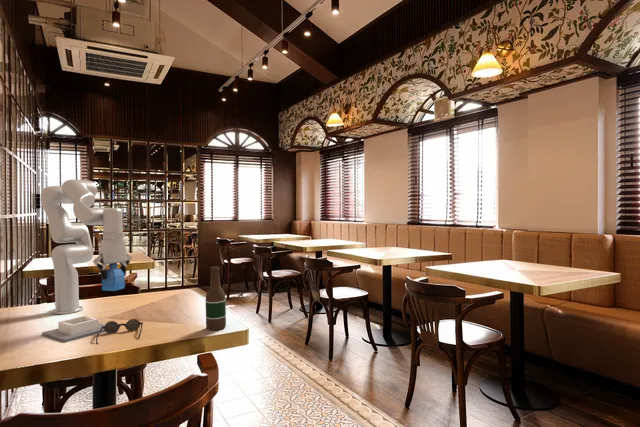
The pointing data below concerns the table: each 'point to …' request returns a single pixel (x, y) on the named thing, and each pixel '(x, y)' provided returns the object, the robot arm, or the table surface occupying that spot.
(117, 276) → the perfume bottle
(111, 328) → the eyeglasses
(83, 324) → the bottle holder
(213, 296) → the beer bottle
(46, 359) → the table surface
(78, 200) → the robot arm
